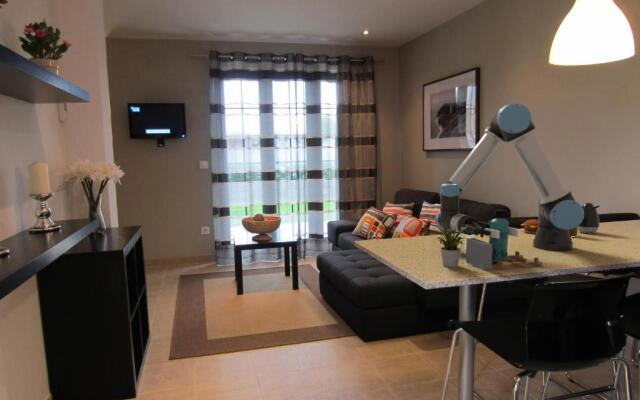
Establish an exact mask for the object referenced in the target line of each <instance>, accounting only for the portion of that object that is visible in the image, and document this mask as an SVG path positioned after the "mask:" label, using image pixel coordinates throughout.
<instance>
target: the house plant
mask: <svg viewBox="0 0 640 400" xmlns="http://www.w3.org/2000/svg"><path fill="white" fill-rule="evenodd" d="M442 224H443V223H442ZM452 224H453V223H452ZM443 225H444V224H443ZM443 225H442V228H440V227H438V226H437V225H436V224H433V223H432V226H434V227H435V231H436V232H437V233H439V235H440V236H441V237H440V236H438V237H436V238H434V239H435V240H437V242H438V241H439V245H441V244H443V246H441V247H440V254H441V255H440V256H441V260H442V266H443V267H447V268H457V267H458V266H459V263H460V257H461V256H460V255H461V250H462V248H461V247H458V246H459V245H460V244H461V245H463V244H464V243H463V242H464V241H465V242H466V240H463V239H465V237H462V236H460V235H461V234H462V233H461V232H462V231H463V230H464V229H465V228H466V227H465V228H463V229H462V230H461V231H459V232H456V225H455V229H454V228H453V229H454V231H453V229H452V226H451V229H452V230H447V229H446V226H445V225H444V226H443ZM444 227H445V228H444ZM467 227H468V226H467ZM437 229H438V230H437ZM460 233H461V234H460Z"/></svg>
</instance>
